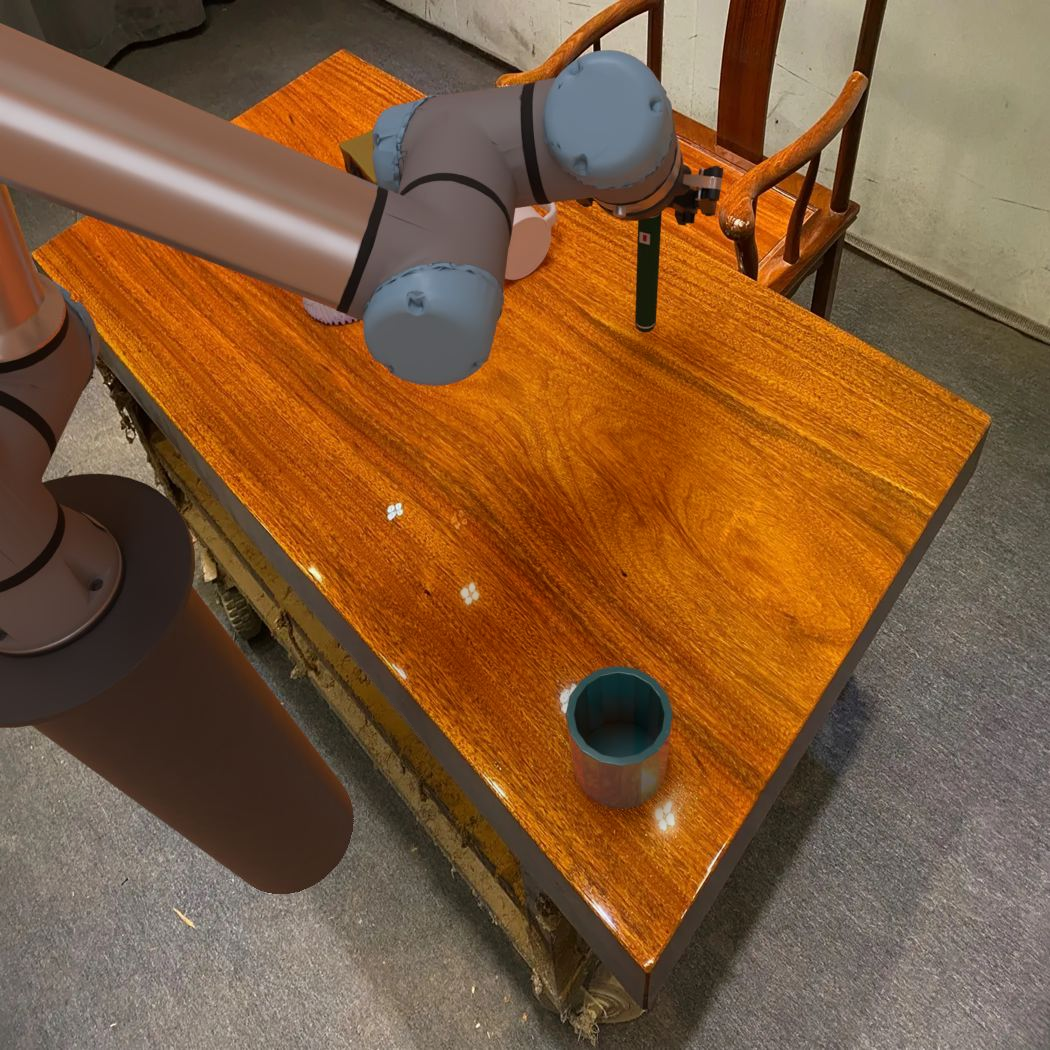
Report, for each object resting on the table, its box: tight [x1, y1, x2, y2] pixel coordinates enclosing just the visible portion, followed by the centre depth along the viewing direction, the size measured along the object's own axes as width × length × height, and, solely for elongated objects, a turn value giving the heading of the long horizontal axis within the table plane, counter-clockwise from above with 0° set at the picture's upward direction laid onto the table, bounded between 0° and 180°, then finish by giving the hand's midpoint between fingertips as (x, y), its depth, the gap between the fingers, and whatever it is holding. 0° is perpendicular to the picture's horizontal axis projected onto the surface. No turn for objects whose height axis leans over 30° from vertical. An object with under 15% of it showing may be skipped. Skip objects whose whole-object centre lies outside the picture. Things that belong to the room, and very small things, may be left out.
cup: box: [565, 665, 674, 809], centre depth 72 cm, size 8×8×10 cm
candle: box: [338, 129, 378, 186], centre depth 114 cm, size 10×10×10 cm
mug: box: [505, 202, 558, 281], centre depth 109 cm, size 12×9×8 cm
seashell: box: [301, 297, 359, 326], centre depth 109 cm, size 10×6×10 cm
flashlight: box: [634, 209, 665, 334], centre depth 92 cm, size 5×5×20 cm
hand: (654, 208), depth 92 cm, fingers closed on flashlight, 5 cm apart
